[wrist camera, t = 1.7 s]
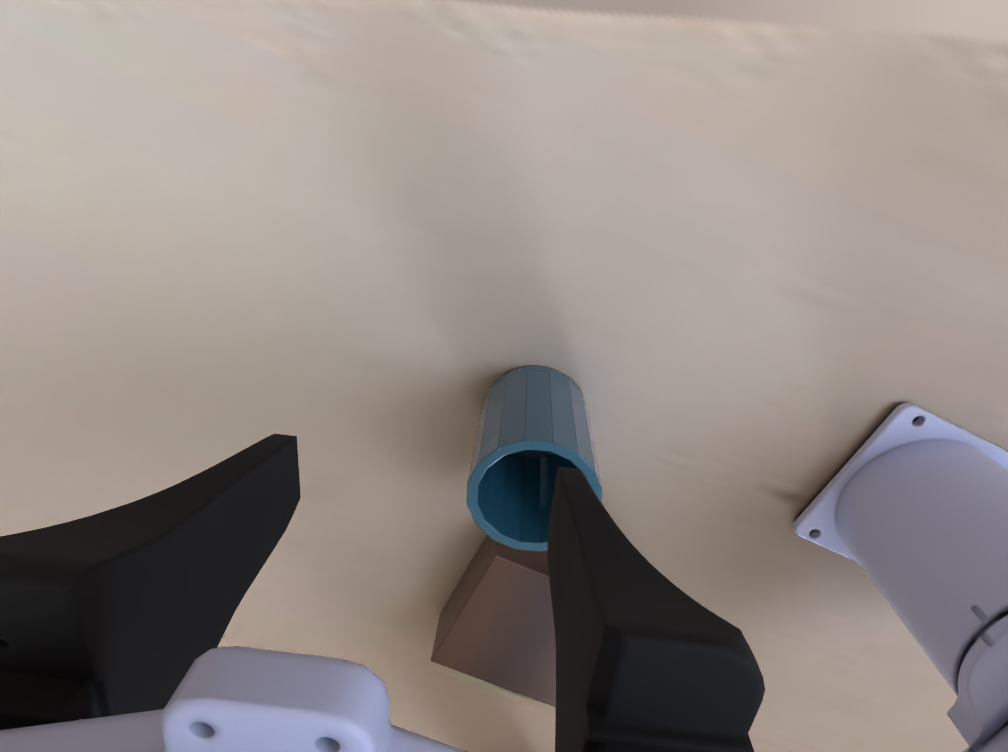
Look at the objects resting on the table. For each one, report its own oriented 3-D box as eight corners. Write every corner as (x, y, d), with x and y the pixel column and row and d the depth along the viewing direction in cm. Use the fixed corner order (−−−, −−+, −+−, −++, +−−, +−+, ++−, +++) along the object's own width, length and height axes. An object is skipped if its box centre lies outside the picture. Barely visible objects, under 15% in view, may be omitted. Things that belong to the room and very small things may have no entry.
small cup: (605, 392, 25) (626, 474, 19) (556, 471, 27) (561, 568, 21) (509, 348, 24) (501, 419, 18) (466, 432, 26) (446, 521, 20)
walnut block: (636, 570, 29) (646, 616, 26) (564, 662, 32) (567, 712, 30) (499, 513, 28) (495, 555, 25) (439, 614, 31) (430, 661, 29)
